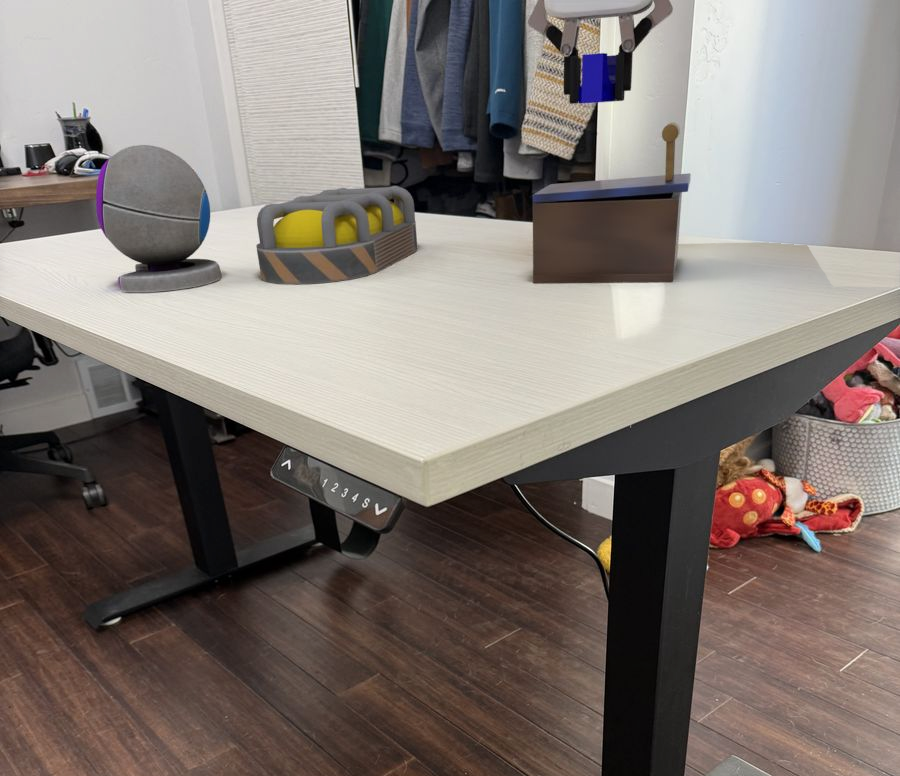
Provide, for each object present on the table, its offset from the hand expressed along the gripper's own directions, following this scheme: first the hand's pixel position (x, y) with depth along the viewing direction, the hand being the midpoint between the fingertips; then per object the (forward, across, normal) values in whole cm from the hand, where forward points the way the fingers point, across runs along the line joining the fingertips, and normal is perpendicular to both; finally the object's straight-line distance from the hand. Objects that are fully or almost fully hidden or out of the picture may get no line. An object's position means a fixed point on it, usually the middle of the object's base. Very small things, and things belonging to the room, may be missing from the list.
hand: (597, 99), depth 86 cm
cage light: (+17, -34, +11) cm, 39 cm away
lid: (+9, +2, +1) cm, 9 cm away
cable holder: (0, 0, 0) cm, 1 cm away
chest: (+17, +2, +1) cm, 17 cm away
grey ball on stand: (+17, -52, -2) cm, 54 cm away
